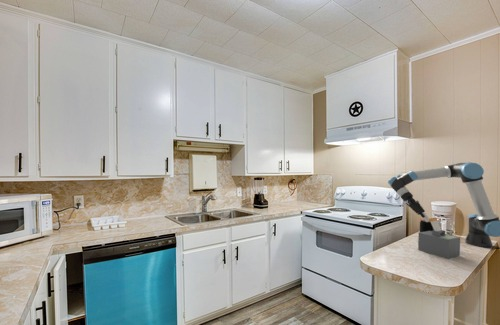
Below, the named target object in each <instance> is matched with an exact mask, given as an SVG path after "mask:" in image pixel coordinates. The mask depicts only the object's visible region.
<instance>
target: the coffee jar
mask: <svg viewBox="0 0 500 325" xmlns="http://www.w3.org/2000/svg"><path fill="white" fill-rule="evenodd" d="M432 230H434V229H433V226H432V224H431V222H430V221H429V222H426V221H425V220H424V219H423V218H422V217H421V218H420V219H419V232H425V231H432Z"/></svg>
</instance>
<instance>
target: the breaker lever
mask: <svg viewBox="0 0 500 325" xmlns="http://www.w3.org/2000/svg"><path fill="white" fill-rule="evenodd" d="M429 221H430V222H431V224H432V226H433V229H434V231H438V232H440V234H442V233H443V231H442V230H443V229H441V227H440V224H439V221H438V218H437V217H431V218H429Z"/></svg>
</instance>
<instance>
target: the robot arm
mask: <svg viewBox="0 0 500 325" xmlns="http://www.w3.org/2000/svg"><path fill="white" fill-rule="evenodd" d="M484 173H485V172H484V168H483V166H482V165H480V164H479V163H476V162H470V161H467V162H460V163H458V162H457V163H453V164H449V165H445V166H444V167H439V168H430V169H429V168H428V169H423V170H415V171H414V170H410V171H406V172H400V173H398V174H397V175H396V176H392V177H391V178H389V179H388V181H387V182H388V184H389V186H390V187H391V188H392V190H394V192H395V193H396V194H397V195H398V196H399V197H400V198H401V200H402V201H403V202H405V205H406V206H408V207H409V208H410V209H411V210H412V211H413V212H415V214H417V215H419V216H420V217H421V218H423V219H424V220H425V221H426V222H429V219H430V218H429V216H428V215H427V214H426V213H425V212H426V211H425V209H424V207H423V206H422V205H421V204H420V202H419V200H415V199H414V197H413V196H414V195H413V194H412V192H410V191H409V189H408V188H407V187H406V186H408V185H409V184H411V183H413V182H415V181H423V180H428V179H429V180H430V179H439V178H460V179H461V182H462V183H463V184H465V185H466V188H467V190H468V193H469V195H470V198H471V200H472V203H473V206H474V208H475V211H476V214H475V213H471V214H469V215H468V233H467V235H466V237H465V239H464V240H465V242H464V243H466V244H468V245H471V246H475V247H480V248H493V241H492V240H491V237H494V238H498V237H500V218H499V216H498V215H497V214H496V213H494V211H493V208H492V206H491V202H490V200H489V198H488V196H487V192H486V190H485V188H484V185H483V182H482V181H483V179H484V177H483V176H484Z"/></svg>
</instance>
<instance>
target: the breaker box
mask: <svg viewBox="0 0 500 325" xmlns="http://www.w3.org/2000/svg"><path fill="white" fill-rule="evenodd" d="M441 230H442V231H443V233H442V234H440V232H438V231H434V230H432V231H425V232H420V231H419V232H418V236H417V237H418V238H417V239H418V241H417V247H418V248H417V250H418V251H419V252H420V251H421V252H425V253H428V254H430V255H433V256H438V257H440V258H443V259H447V260H450V259H455V258H458V257H460V256H461V251H460V250H461V237H459V236H454V235H449V234H447V233H446V230H444V229H441Z"/></svg>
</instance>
